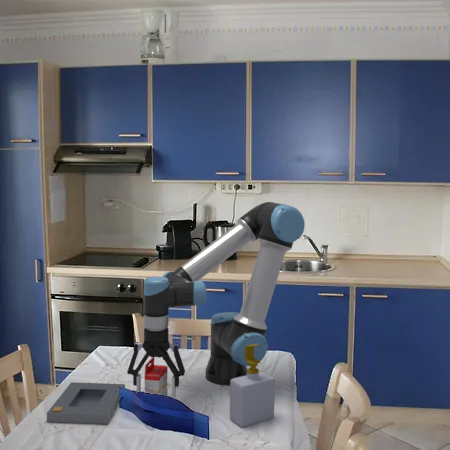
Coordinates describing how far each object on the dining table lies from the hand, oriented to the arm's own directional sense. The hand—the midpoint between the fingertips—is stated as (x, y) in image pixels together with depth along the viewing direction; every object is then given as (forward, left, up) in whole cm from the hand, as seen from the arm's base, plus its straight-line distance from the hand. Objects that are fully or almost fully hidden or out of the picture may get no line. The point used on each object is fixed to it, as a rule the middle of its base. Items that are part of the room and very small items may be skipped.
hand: (156, 395), depth 171 cm
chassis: (+21, +2, -3) cm, 21 cm away
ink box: (0, 0, -4) cm, 4 cm away
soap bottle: (-30, +6, -4) cm, 31 cm away
